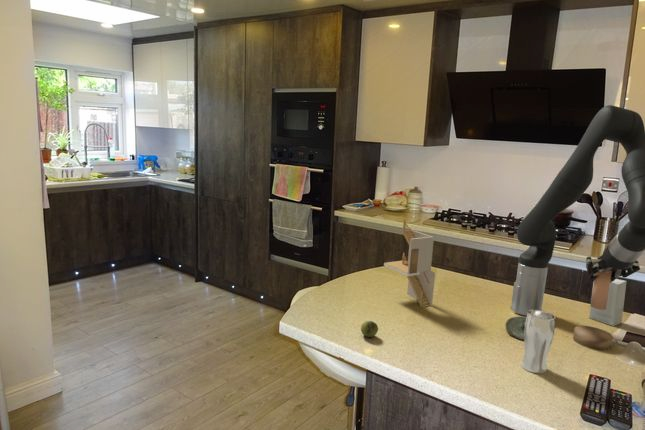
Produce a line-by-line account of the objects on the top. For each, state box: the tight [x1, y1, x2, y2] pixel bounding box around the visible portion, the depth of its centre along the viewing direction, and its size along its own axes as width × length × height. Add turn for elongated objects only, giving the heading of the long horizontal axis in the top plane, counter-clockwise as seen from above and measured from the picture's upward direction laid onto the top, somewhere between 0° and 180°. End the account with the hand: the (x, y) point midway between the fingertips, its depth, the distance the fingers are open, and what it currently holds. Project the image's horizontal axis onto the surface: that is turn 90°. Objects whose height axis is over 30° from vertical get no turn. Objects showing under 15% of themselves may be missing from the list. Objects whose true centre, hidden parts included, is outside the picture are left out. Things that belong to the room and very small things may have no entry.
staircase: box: [383, 219, 436, 308], centre depth 163 cm, size 10×16×29 cm, turn 29°
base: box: [572, 325, 614, 351], centre depth 138 cm, size 10×10×3 cm
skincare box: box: [588, 278, 628, 327], centre depth 154 cm, size 8×6×15 cm
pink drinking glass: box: [590, 271, 613, 310], centre depth 135 cm, size 4×4×12 cm
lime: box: [360, 320, 379, 338], centre depth 134 cm, size 4×5×5 cm
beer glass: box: [520, 309, 556, 374], centre depth 119 cm, size 7×7×15 cm
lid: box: [505, 316, 527, 341], centre depth 141 cm, size 11×10×5 cm
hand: (599, 279), depth 137 cm, fingers closed on pink drinking glass, 4 cm apart
